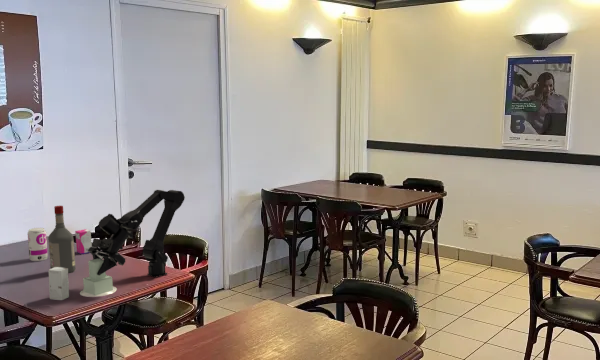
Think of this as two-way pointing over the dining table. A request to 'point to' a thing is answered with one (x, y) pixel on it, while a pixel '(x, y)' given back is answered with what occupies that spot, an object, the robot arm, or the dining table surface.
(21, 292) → the dining table surface
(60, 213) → the liquor
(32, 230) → the supplement can
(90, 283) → the cover
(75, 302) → the dining table surface
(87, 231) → the supplement box
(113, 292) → the plate
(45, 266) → the dining table surface
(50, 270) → the skincare box
